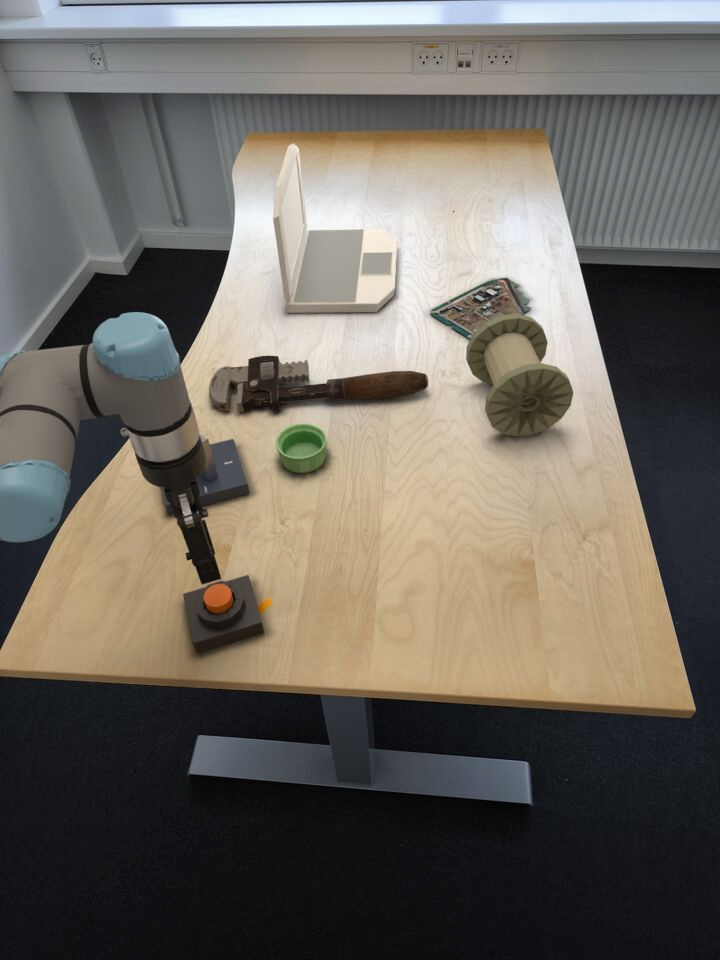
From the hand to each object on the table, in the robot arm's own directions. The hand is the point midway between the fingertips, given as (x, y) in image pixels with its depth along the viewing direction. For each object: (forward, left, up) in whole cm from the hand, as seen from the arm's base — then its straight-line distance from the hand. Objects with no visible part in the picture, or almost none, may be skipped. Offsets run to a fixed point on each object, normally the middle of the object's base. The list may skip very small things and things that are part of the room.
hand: (208, 566), depth 100 cm
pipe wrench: (+28, +46, -13) cm, 56 cm away
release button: (0, 0, -8) cm, 8 cm away
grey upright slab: (+2, +30, -10) cm, 31 cm away
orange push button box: (0, 0, -13) cm, 13 cm away
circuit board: (+69, +60, -13) cm, 92 cm away
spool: (+61, +28, -13) cm, 68 cm away
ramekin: (+20, +28, -13) cm, 37 cm away
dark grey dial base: (+2, +30, -13) cm, 32 cm away
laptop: (+46, +86, -13) cm, 98 cm away
